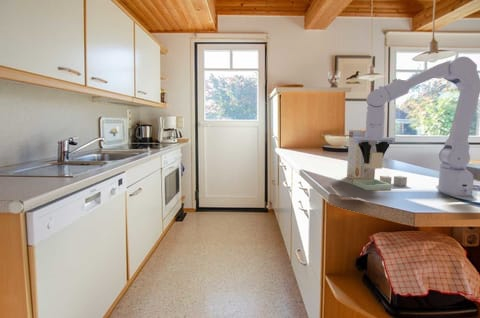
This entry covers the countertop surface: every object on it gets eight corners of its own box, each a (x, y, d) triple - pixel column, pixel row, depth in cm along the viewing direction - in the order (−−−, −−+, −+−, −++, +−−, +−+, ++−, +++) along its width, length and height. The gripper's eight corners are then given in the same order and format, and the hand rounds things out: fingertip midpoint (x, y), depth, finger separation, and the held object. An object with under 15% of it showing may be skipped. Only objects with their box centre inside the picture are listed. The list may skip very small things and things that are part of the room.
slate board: (412, 190, 110) (412, 188, 110) (391, 190, 110) (392, 188, 109) (398, 185, 118) (398, 183, 118) (379, 186, 117) (379, 184, 117)
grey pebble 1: (390, 185, 115) (391, 177, 114) (382, 185, 115) (382, 177, 115) (387, 183, 118) (388, 176, 117) (379, 183, 118) (380, 175, 117)
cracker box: (375, 185, 118) (378, 130, 116) (359, 185, 118) (362, 130, 116) (360, 178, 132) (363, 128, 130) (346, 178, 132) (348, 128, 129)
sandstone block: (381, 168, 109) (382, 152, 109) (370, 168, 109) (371, 152, 108) (375, 166, 113) (376, 151, 113) (365, 166, 113) (366, 151, 112)
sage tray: (390, 191, 108) (391, 184, 108) (366, 192, 108) (366, 185, 107) (375, 185, 118) (375, 179, 118) (352, 186, 117) (353, 179, 117)
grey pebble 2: (406, 185, 115) (406, 177, 115) (400, 185, 114) (401, 177, 114) (399, 183, 118) (399, 175, 118) (393, 184, 117) (394, 176, 116)
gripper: (387, 124, 115) (385, 161, 116) (349, 124, 113) (348, 161, 115) (399, 125, 108) (396, 164, 109) (359, 125, 106) (357, 164, 108)
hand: (372, 163), depth 112 cm, fingers closed on sandstone block, 4 cm apart
